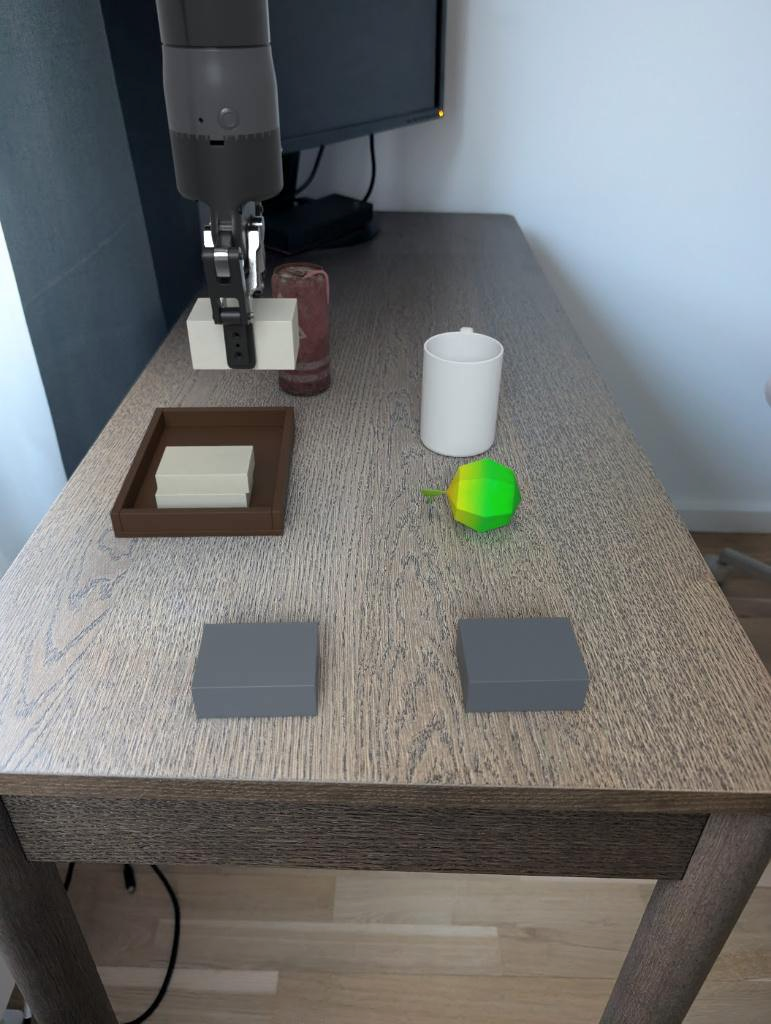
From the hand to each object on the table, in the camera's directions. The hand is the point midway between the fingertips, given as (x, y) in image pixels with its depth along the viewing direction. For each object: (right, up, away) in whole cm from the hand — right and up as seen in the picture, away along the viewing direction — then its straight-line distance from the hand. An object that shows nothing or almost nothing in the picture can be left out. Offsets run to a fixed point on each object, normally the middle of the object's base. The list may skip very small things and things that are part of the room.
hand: (247, 351), depth 63 cm
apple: (+19, -14, +8) cm, 25 cm away
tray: (-5, -10, +13) cm, 17 cm away
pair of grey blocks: (+12, -25, -8) cm, 29 cm away
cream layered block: (-5, -12, +9) cm, 16 cm away
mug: (+19, -4, +21) cm, 29 cm away
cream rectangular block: (0, 0, 0) cm, 0 cm away
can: (+2, +2, +30) cm, 30 cm away
